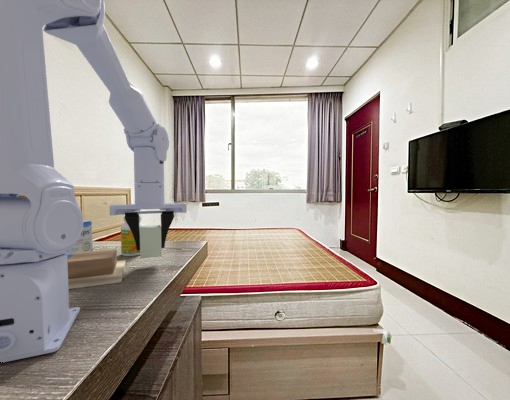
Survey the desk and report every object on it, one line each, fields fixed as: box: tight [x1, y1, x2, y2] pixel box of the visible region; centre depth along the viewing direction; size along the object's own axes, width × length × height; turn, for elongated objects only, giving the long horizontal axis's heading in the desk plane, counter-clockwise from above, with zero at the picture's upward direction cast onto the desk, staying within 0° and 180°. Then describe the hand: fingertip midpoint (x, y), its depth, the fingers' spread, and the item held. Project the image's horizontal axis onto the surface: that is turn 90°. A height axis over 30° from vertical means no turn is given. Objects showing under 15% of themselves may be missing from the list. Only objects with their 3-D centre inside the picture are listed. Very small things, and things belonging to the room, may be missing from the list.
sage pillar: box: [139, 224, 163, 259], centre depth 53 cm, size 4×4×6 cm
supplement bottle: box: [120, 214, 145, 257], centre depth 63 cm, size 5×5×10 cm
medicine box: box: [67, 219, 94, 260], centre depth 58 cm, size 8×4×9 cm, turn 168°
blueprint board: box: [67, 248, 127, 290], centre depth 47 cm, size 11×10×4 cm
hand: (150, 248), depth 53 cm, fingers closed on sage pillar, 4 cm apart
